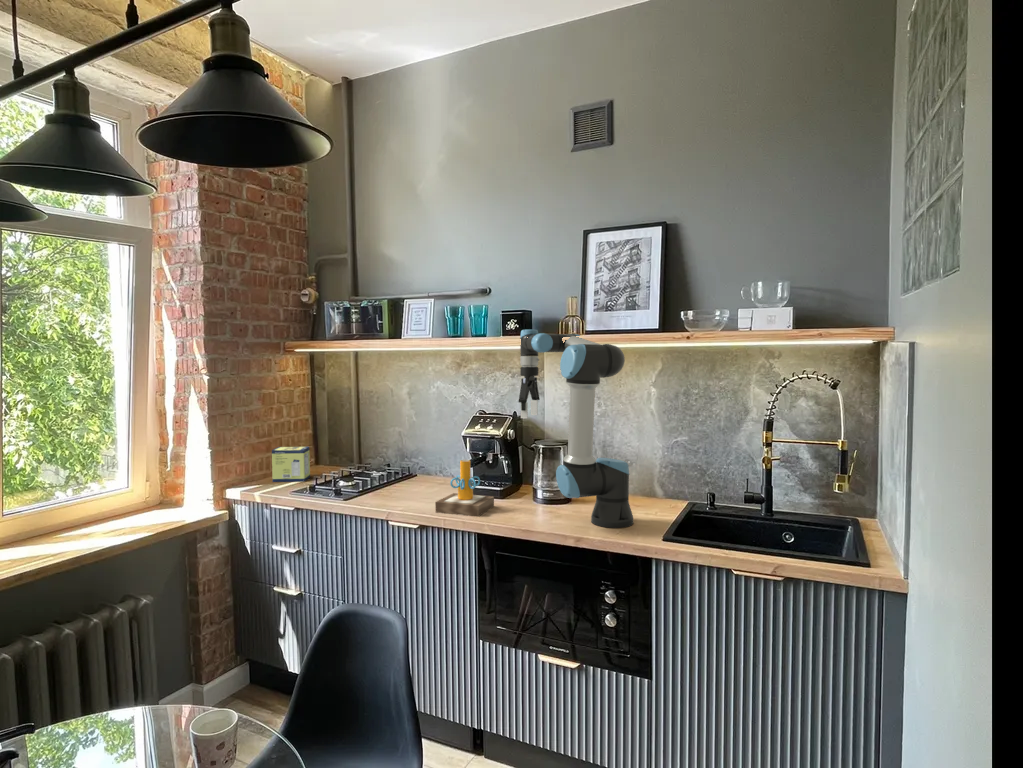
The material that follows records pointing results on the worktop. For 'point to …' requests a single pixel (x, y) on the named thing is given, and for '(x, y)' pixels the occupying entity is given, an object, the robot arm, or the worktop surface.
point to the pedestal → (465, 505)
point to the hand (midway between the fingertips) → (529, 416)
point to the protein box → (290, 464)
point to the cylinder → (465, 481)
